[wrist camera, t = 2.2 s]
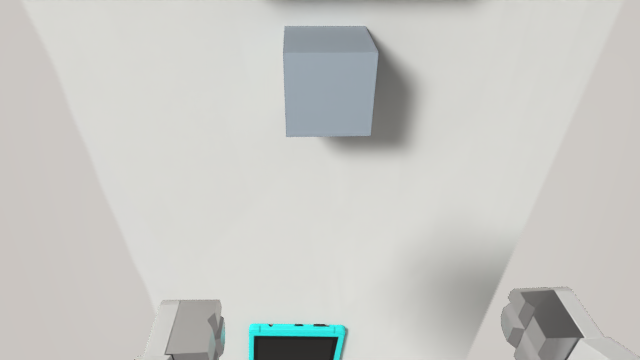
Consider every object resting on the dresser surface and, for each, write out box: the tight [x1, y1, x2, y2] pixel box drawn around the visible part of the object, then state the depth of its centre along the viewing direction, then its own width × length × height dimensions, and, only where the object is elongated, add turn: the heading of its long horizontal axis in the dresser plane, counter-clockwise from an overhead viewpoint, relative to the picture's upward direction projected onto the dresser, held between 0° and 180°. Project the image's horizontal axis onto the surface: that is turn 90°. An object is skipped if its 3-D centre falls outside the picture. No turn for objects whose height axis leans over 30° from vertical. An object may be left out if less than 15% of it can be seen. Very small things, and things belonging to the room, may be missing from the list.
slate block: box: [283, 26, 379, 137], centre depth 25 cm, size 5×5×5 cm
